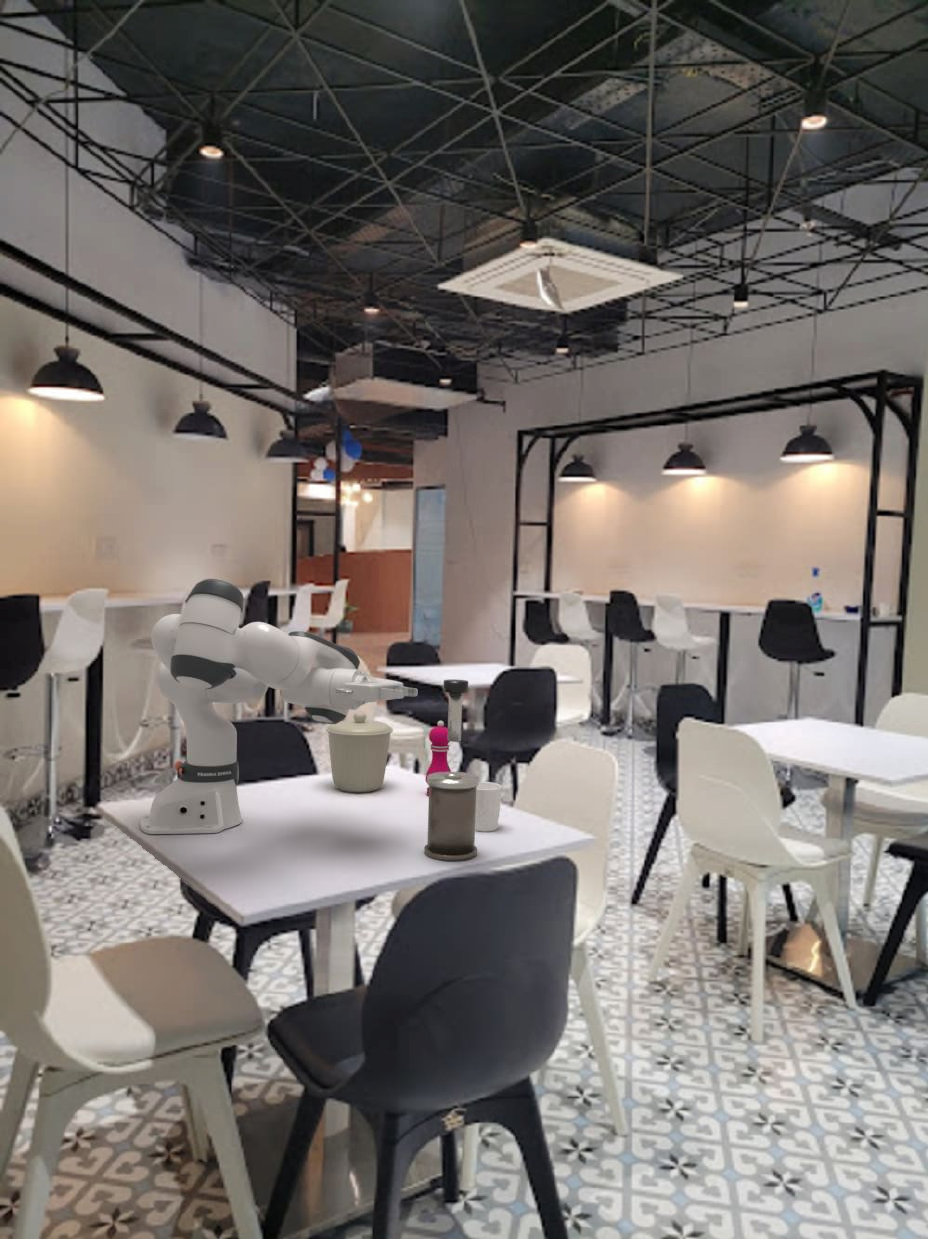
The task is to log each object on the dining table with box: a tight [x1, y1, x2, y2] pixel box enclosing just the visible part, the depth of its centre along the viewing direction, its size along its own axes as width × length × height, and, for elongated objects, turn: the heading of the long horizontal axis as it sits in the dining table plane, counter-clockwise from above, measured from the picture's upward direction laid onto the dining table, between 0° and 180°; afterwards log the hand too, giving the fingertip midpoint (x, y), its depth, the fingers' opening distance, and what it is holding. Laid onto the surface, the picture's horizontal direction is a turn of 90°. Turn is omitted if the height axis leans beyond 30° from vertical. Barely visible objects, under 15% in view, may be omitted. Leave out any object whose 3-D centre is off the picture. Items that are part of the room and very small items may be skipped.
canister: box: [325, 711, 394, 793], centre depth 245 cm, size 18×18×21 cm
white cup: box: [475, 781, 502, 833], centre depth 211 cm, size 8×8×10 cm
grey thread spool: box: [423, 771, 480, 862], centre depth 191 cm, size 11×11×17 cm
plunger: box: [443, 678, 469, 743], centre depth 190 cm, size 5×5×13 cm
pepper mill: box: [424, 720, 452, 797], centre depth 241 cm, size 7×7×20 cm
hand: (410, 693), depth 194 cm, fingers open, 8 cm apart
